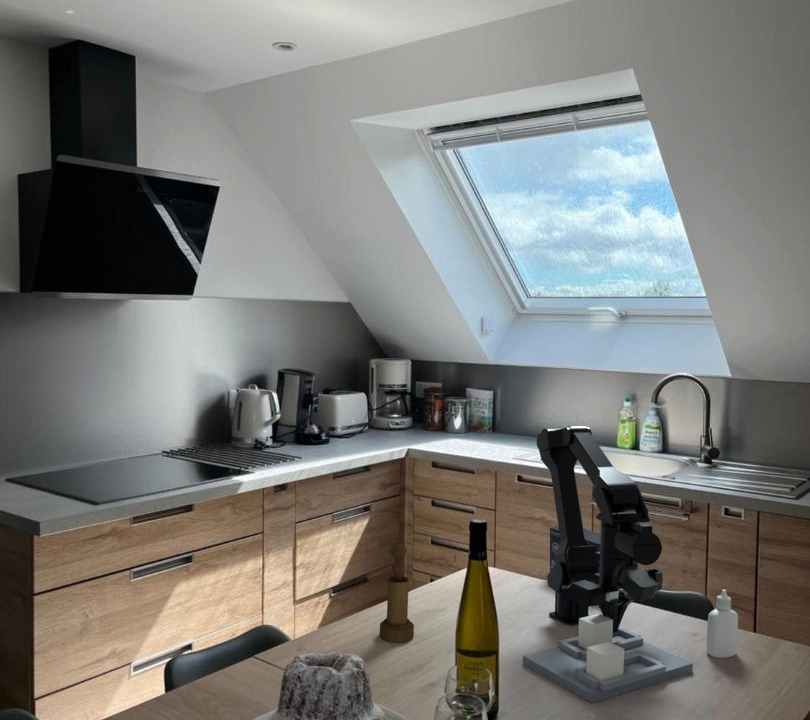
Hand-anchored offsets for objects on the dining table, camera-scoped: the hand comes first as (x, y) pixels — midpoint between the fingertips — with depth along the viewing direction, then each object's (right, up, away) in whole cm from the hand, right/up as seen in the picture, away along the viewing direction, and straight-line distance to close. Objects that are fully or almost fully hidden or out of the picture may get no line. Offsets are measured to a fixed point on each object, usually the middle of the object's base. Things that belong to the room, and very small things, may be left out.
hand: (613, 632), depth 154 cm
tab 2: (-5, -3, -16) cm, 17 cm away
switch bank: (-3, -4, -8) cm, 9 cm away
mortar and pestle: (-40, -2, +4) cm, 40 cm away
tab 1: (-4, -2, -2) cm, 5 cm away
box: (+3, -2, +38) cm, 38 cm away
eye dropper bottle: (+20, -4, -1) cm, 20 cm away
